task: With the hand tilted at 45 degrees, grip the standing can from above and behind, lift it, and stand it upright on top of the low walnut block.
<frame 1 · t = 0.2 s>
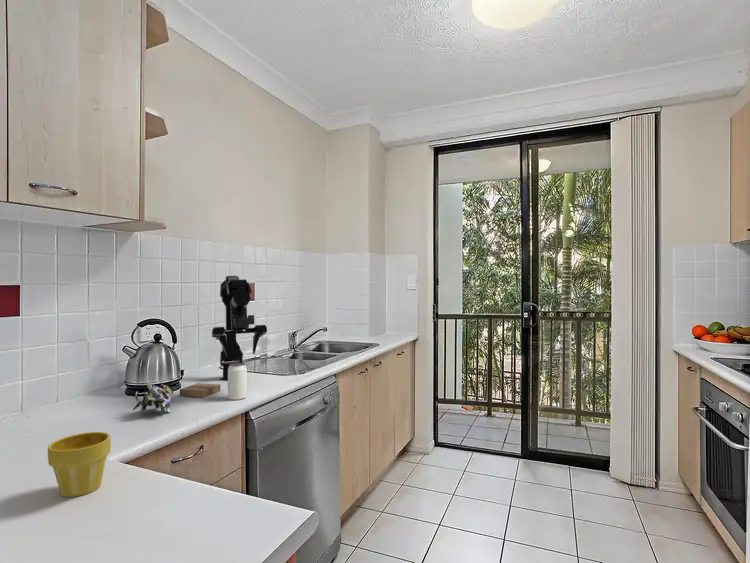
hand: (240, 354, 155), 15 cm above the worktop, tool tilted 15°, fingers open, 9 cm apart
plant pot: (80, 490, 86), on the worktop
walnut block: (200, 394, 160), on the worktop
passion flower: (153, 414, 135), on the worktop
can: (237, 398, 154), on the worktop
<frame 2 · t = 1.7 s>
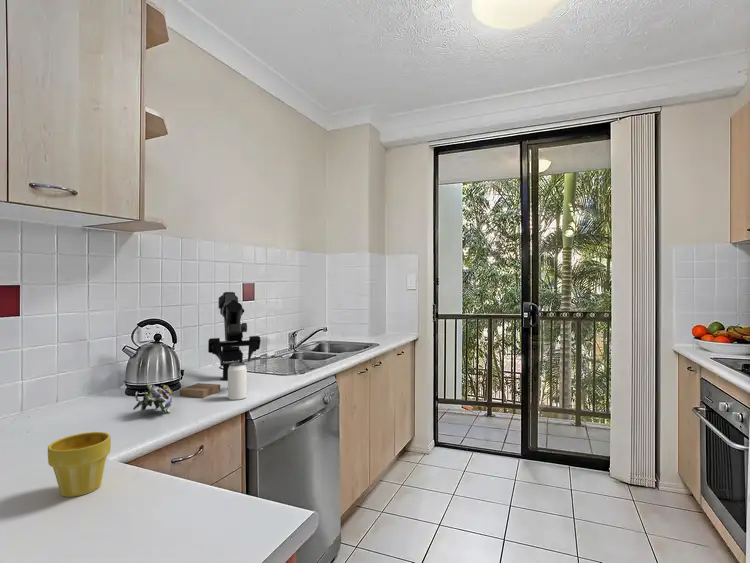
hand: (236, 362, 159), 12 cm above the worktop, tool tilted 45°, fingers open, 9 cm apart
nothing on the worktop moved.
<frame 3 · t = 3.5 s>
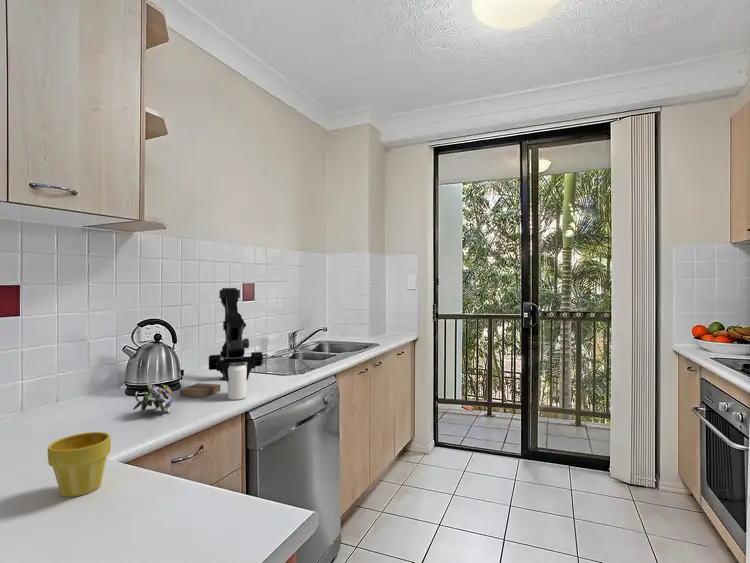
hand: (237, 380, 152), 7 cm above the worktop, tool tilted 45°, fingers closed on can, 6 cm apart
can: (237, 398, 154), on the worktop, touching gripper
everything else where it was.
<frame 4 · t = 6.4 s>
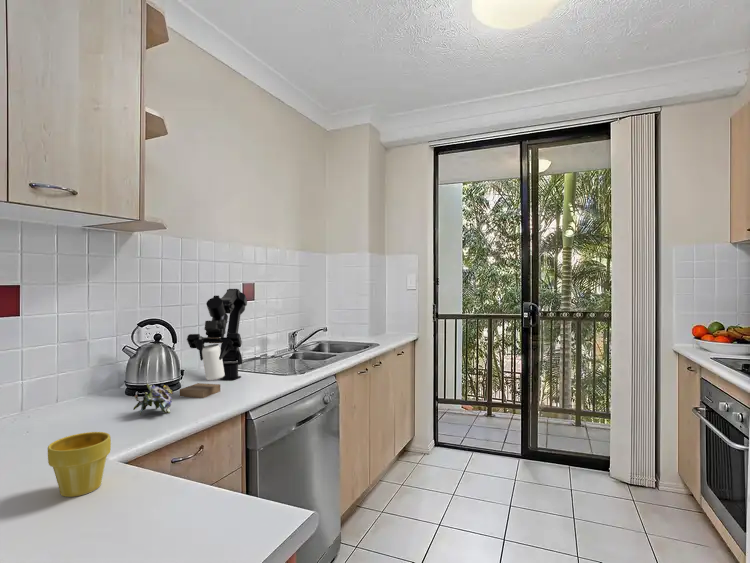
hand: (210, 359, 156), 13 cm above the worktop, tool tilted 45°, fingers closed on can, 6 cm apart
can: (215, 378, 157), point 6 cm above the worktop, touching gripper
everything else where it was.
when the fingers open (11 cm above the worktop, at t = 8.1 s): can drops 1 cm, point 2 cm above the worktop.
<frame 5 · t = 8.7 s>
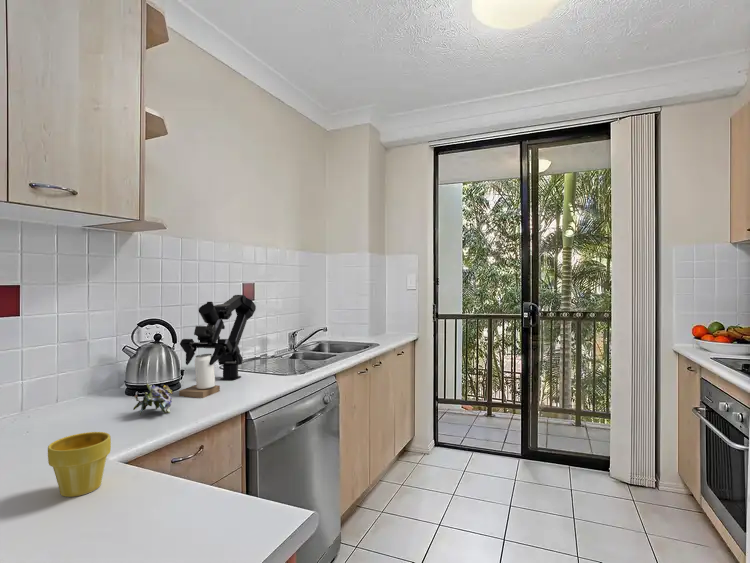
hand: (198, 364, 159), 11 cm above the worktop, tool tilted 45°, fingers open, 9 cm apart
can: (206, 387, 160), point 2 cm above the worktop
everything else where it was.
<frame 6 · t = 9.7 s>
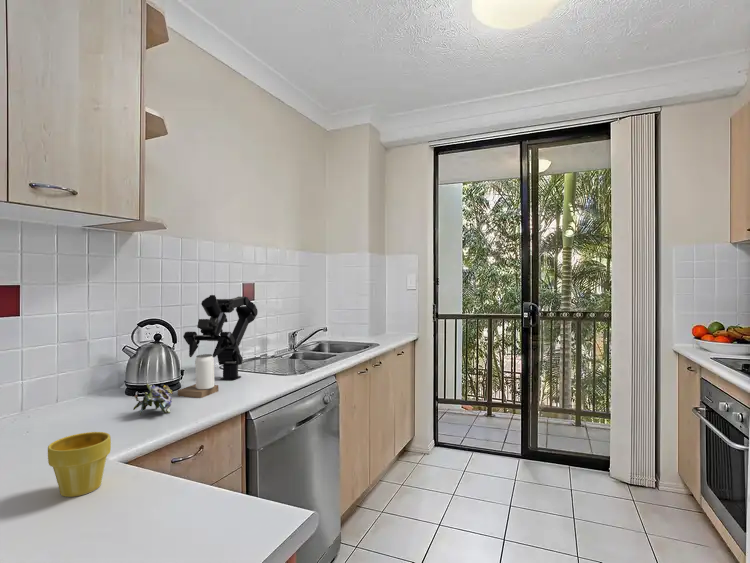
hand: (201, 356, 161), 14 cm above the worktop, tool tilted 45°, fingers open, 9 cm apart
can: (205, 388, 160), point 2 cm above the worktop, touching gripper
everything else where it was.
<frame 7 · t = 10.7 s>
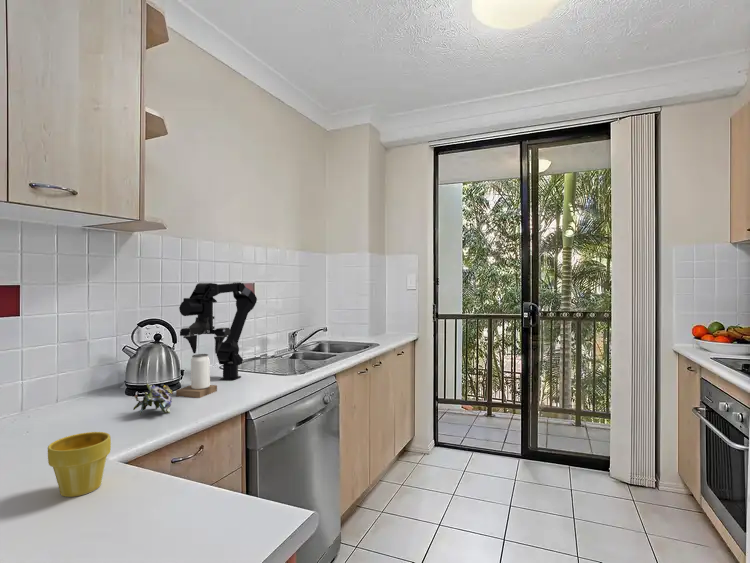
hand: (205, 353, 172), 13 cm above the worktop, tool pointing down, fingers open, 9 cm apart
walnut block: (197, 395, 160), on the worktop, touching can
can: (200, 387, 160), point 2 cm above the worktop, touching walnut block
everything else where it was.
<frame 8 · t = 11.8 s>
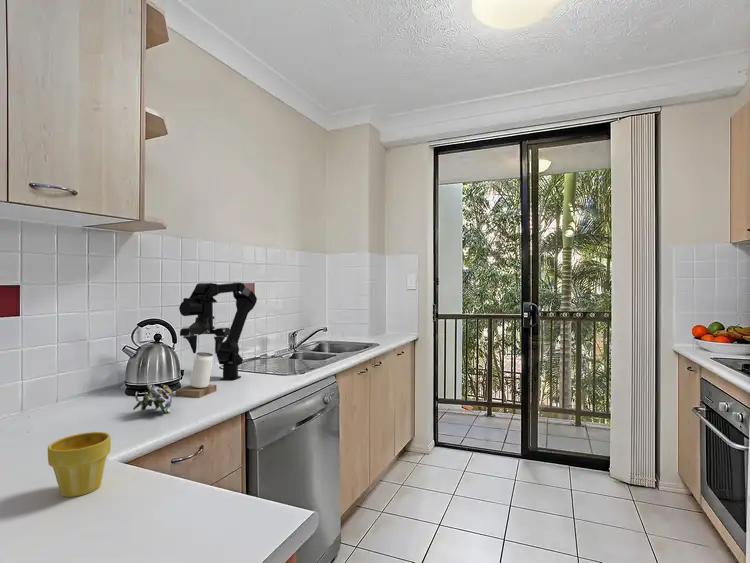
hand: (205, 353, 172), 13 cm above the worktop, tool pointing down, fingers open, 9 cm apart
at the end: can 1.0 cm off-centre on the walnut block, point 3.4 cm above the walnut block's base; can tilted 11°; the gripper is holding nothing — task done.
